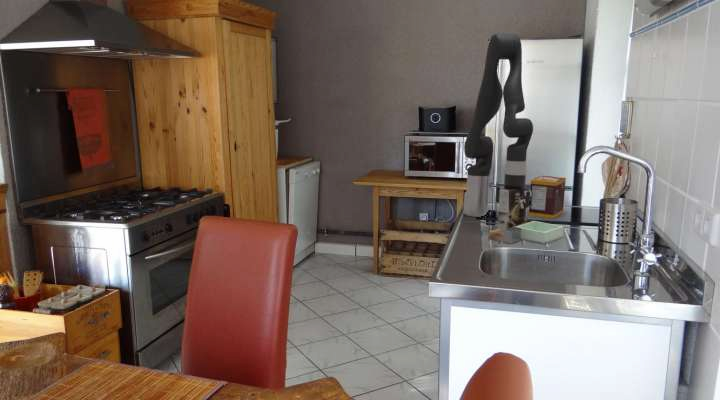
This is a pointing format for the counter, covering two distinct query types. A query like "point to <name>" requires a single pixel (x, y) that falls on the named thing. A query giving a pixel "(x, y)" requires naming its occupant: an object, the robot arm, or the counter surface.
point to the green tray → (540, 232)
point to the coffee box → (510, 208)
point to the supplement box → (547, 196)
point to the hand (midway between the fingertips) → (512, 216)
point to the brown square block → (497, 235)
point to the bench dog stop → (512, 235)
